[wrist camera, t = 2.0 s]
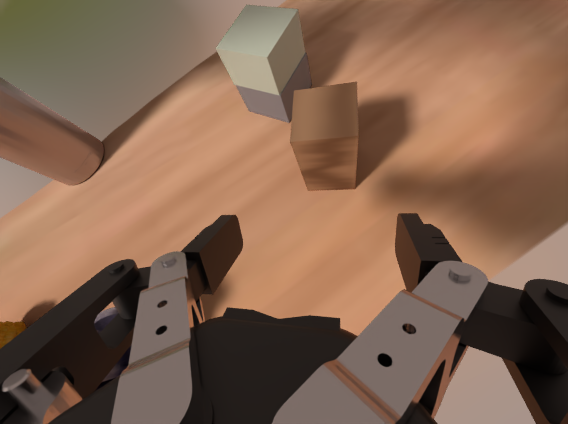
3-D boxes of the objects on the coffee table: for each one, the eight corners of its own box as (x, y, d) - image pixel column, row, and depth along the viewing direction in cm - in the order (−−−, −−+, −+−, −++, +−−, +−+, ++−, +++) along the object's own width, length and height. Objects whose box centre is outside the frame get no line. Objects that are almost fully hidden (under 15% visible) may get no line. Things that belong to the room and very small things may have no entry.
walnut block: (308, 190, 29) (290, 141, 20) (309, 151, 31) (293, 90, 22) (355, 189, 28) (358, 135, 19) (354, 148, 30) (356, 81, 21)
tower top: (234, 84, 32) (215, 48, 27) (260, 45, 33) (246, 4, 28) (279, 95, 29) (266, 57, 24) (305, 52, 30) (298, 9, 26)
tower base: (249, 112, 36) (235, 84, 32) (271, 76, 37) (261, 45, 33) (289, 123, 34) (280, 95, 29) (311, 85, 35) (306, 53, 30)
